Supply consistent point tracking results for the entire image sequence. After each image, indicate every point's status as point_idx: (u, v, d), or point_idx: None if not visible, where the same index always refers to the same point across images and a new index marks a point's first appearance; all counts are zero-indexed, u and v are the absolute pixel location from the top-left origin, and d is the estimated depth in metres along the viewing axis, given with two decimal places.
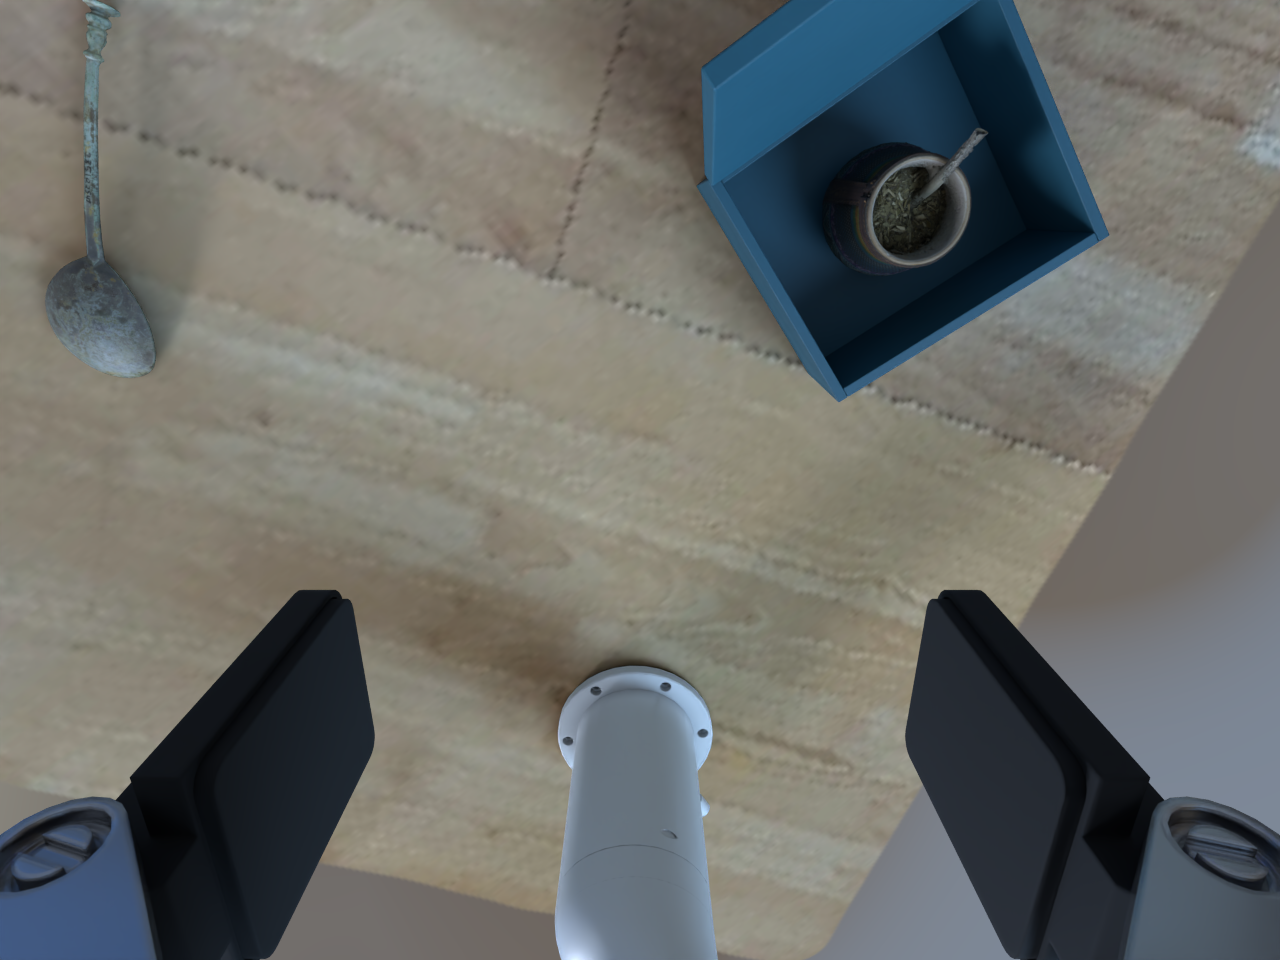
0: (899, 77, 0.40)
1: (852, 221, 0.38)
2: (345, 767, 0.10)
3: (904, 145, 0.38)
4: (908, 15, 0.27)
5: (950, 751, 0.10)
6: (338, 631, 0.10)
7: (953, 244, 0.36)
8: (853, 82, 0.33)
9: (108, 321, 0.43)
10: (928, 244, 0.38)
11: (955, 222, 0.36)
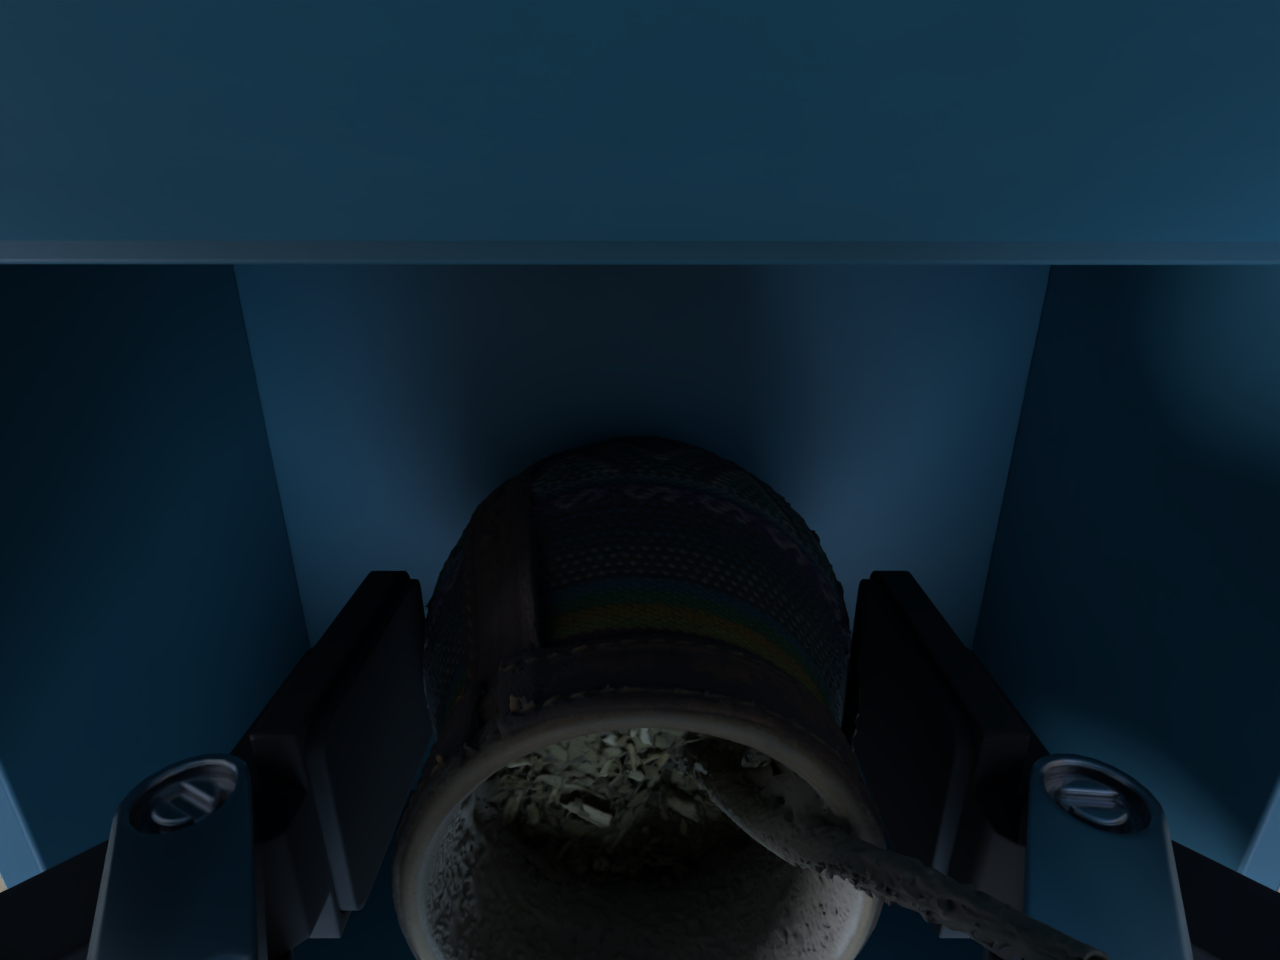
0: (893, 299, 0.13)
1: (450, 693, 0.09)
2: (415, 738, 0.11)
3: (775, 538, 0.10)
4: None
5: (875, 722, 0.11)
6: (410, 609, 0.11)
7: None
8: (613, 225, 0.05)
9: None
10: (656, 902, 0.10)
11: None
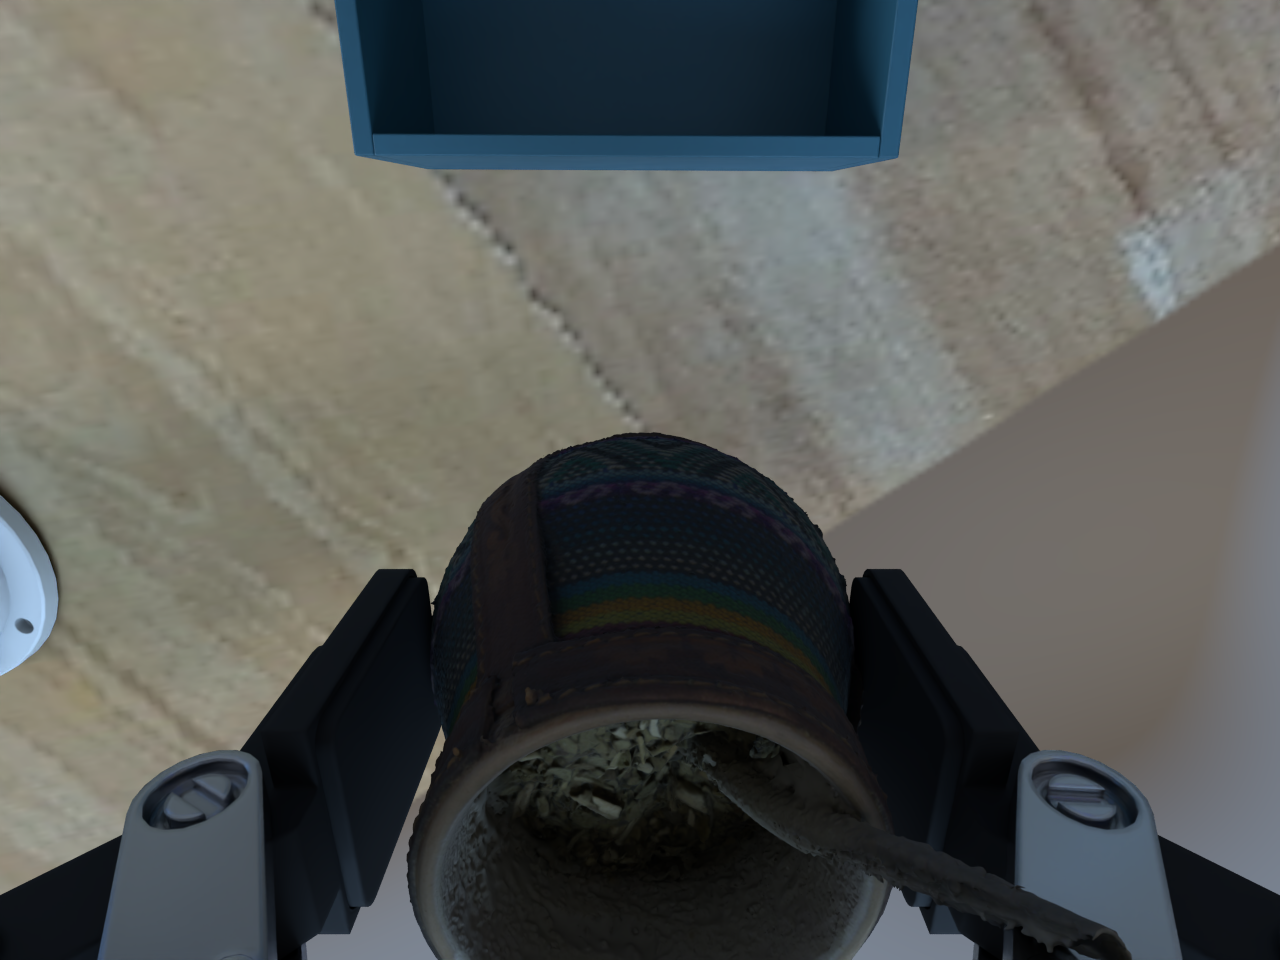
0: None
1: (460, 687, 0.09)
2: (422, 736, 0.11)
3: (780, 532, 0.10)
4: None
5: (867, 719, 0.11)
6: (417, 607, 0.11)
7: None
8: None
9: None
10: (664, 892, 0.10)
11: (770, 948, 0.09)
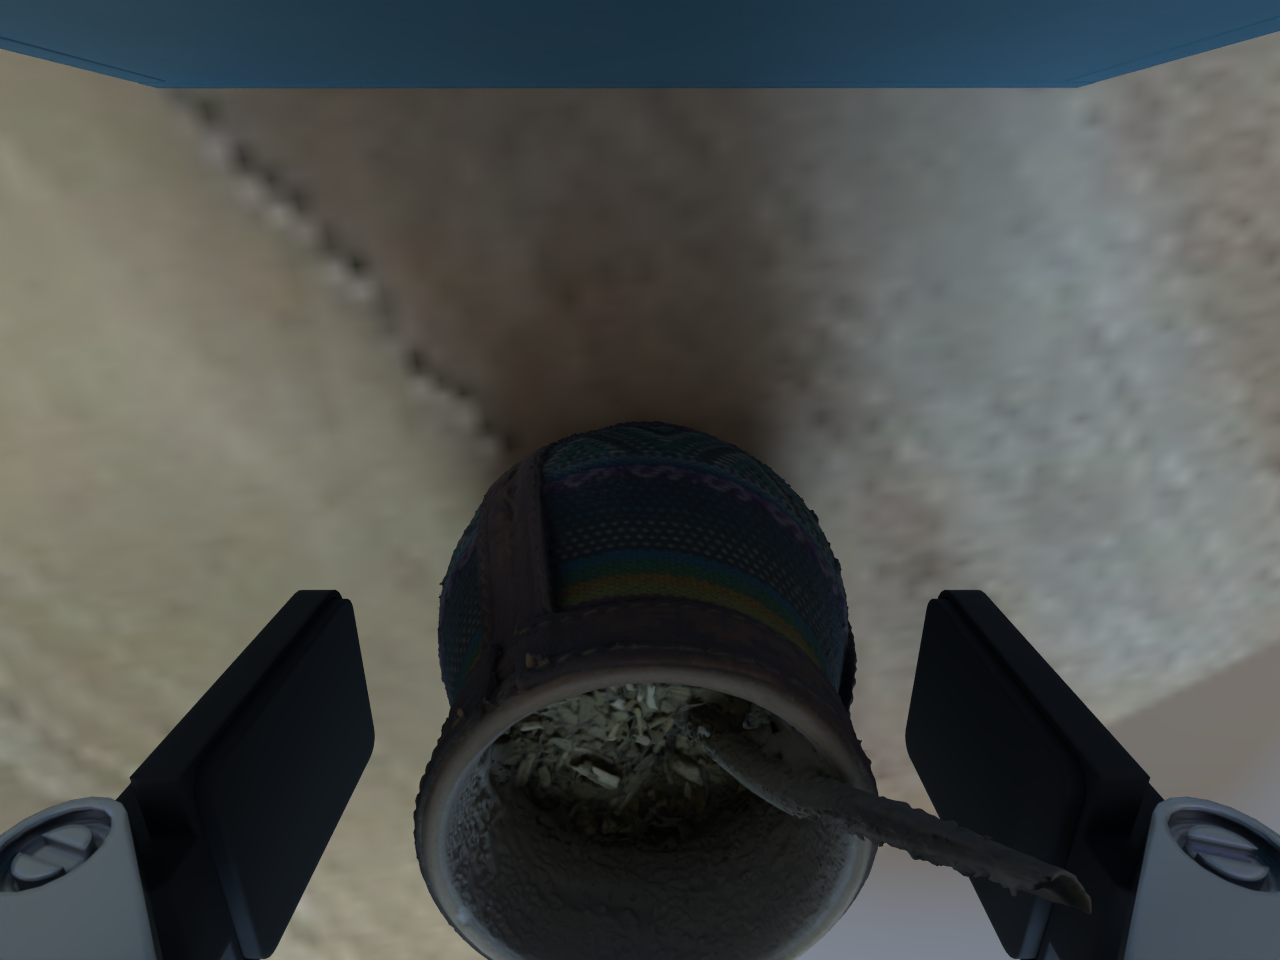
0: None
1: (466, 660, 0.10)
2: (345, 767, 0.10)
3: (775, 515, 0.10)
4: None
5: (950, 751, 0.10)
6: (339, 631, 0.10)
7: None
8: None
9: None
10: (661, 862, 0.10)
11: (761, 912, 0.09)
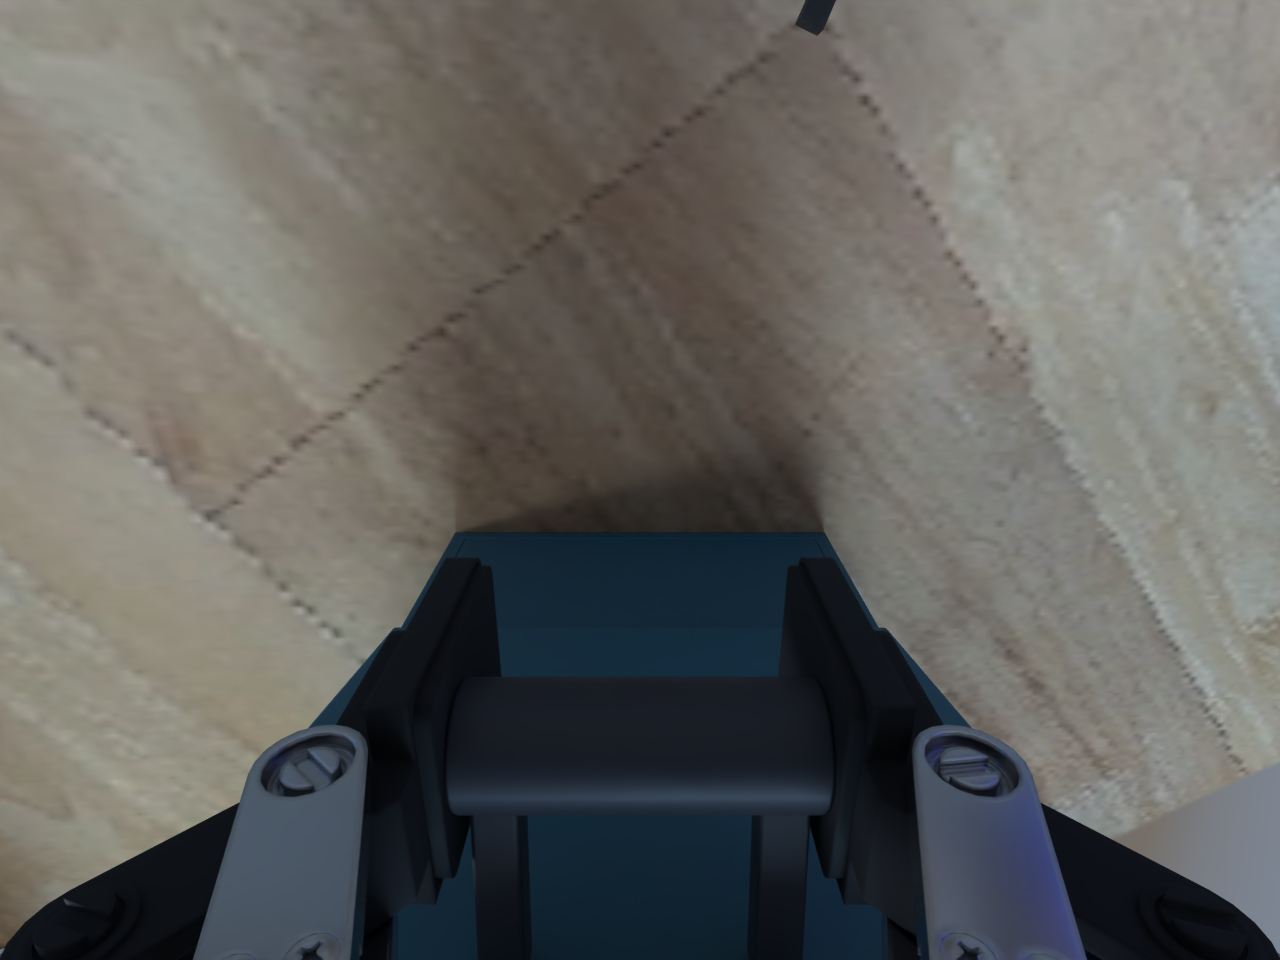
0: None
1: None
2: None
3: None
4: None
5: None
6: (486, 594, 0.11)
7: None
8: None
9: None
10: None
11: None
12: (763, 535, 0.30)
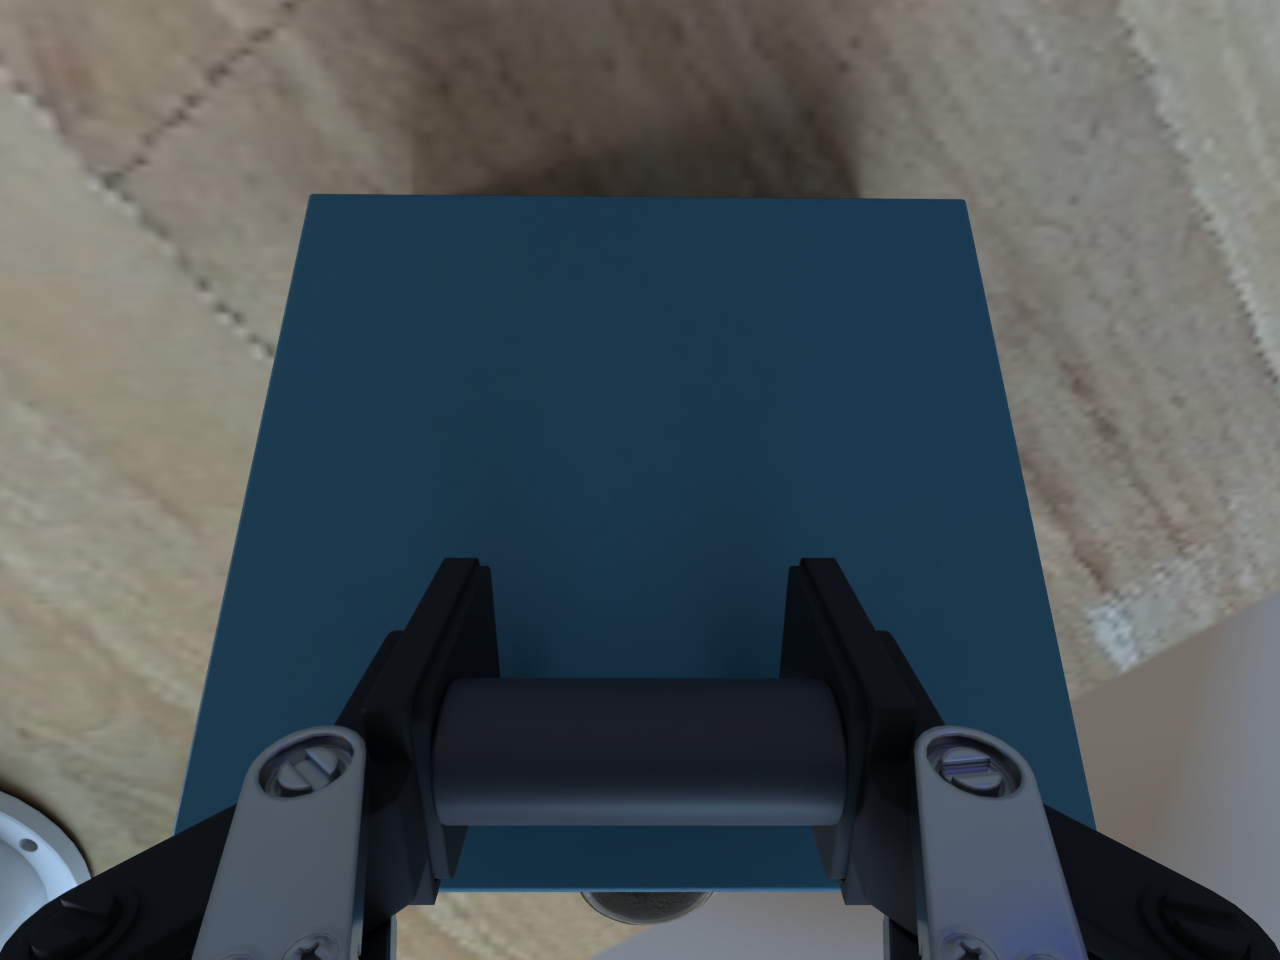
0: None
1: None
2: None
3: None
4: None
5: None
6: (484, 594, 0.11)
7: (667, 922, 0.27)
8: None
9: None
10: None
11: (686, 894, 0.27)
12: None
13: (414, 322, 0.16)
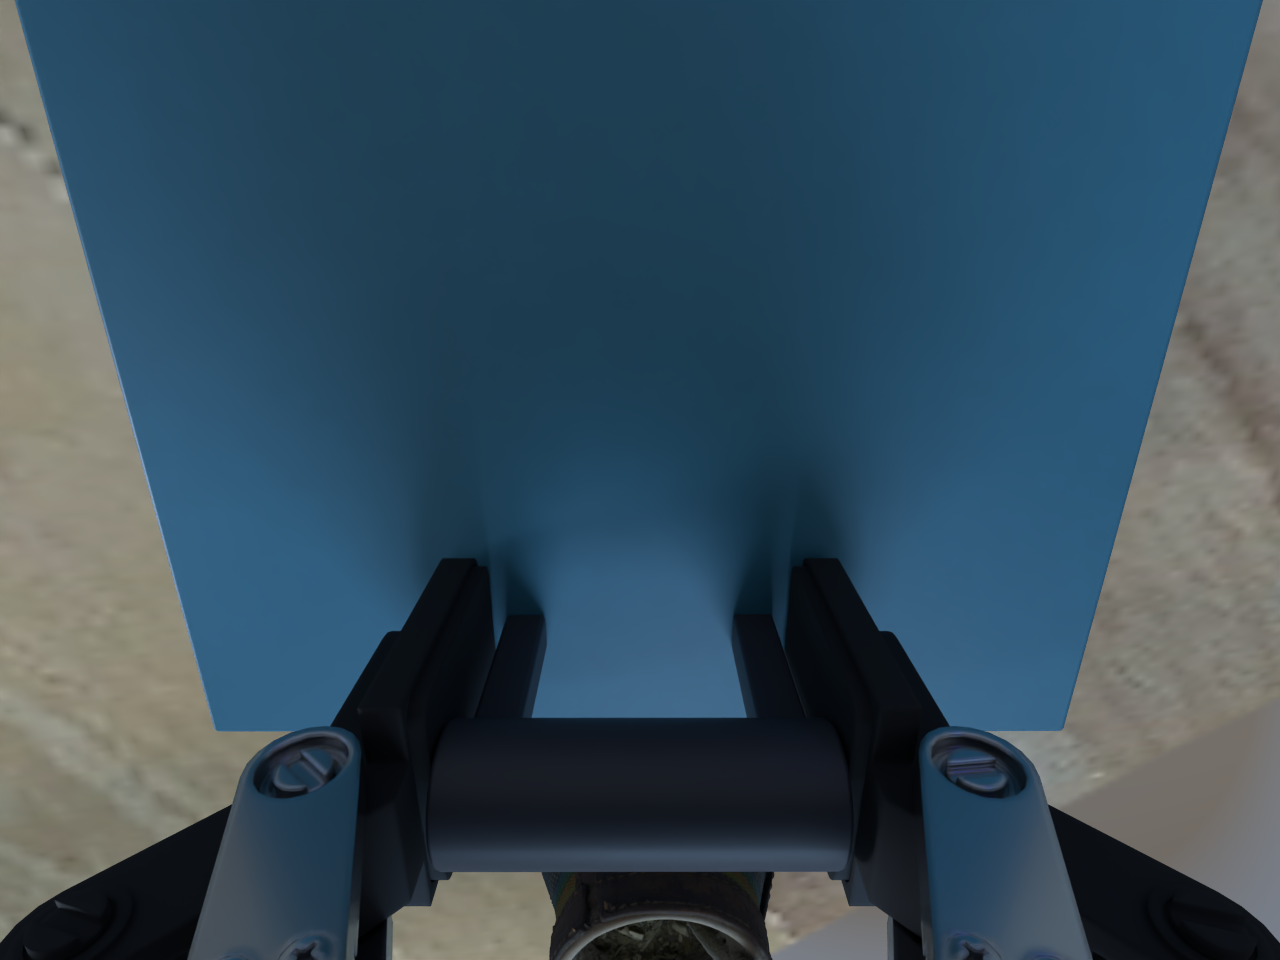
0: None
1: (562, 875, 0.18)
2: None
3: None
4: None
5: (802, 703, 0.11)
6: (482, 595, 0.11)
7: None
8: None
9: None
10: None
11: None
12: None
13: (253, 46, 0.09)
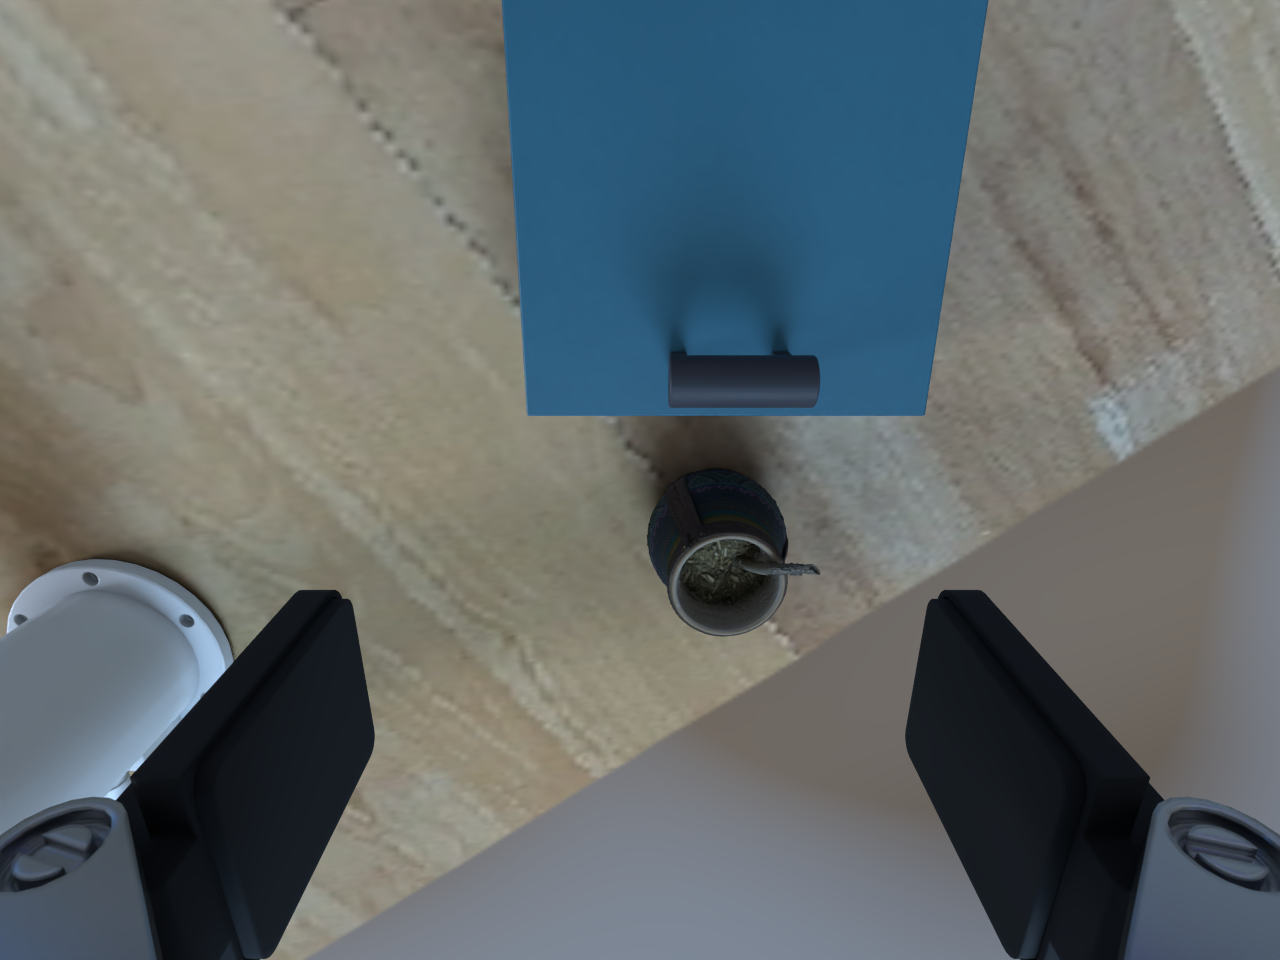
0: None
1: (670, 542, 0.33)
2: (345, 767, 0.10)
3: (761, 500, 0.34)
4: None
5: (950, 751, 0.10)
6: (338, 631, 0.10)
7: (742, 632, 0.33)
8: None
9: None
10: (726, 607, 0.34)
11: (757, 611, 0.33)
12: None
13: (594, 103, 0.24)
